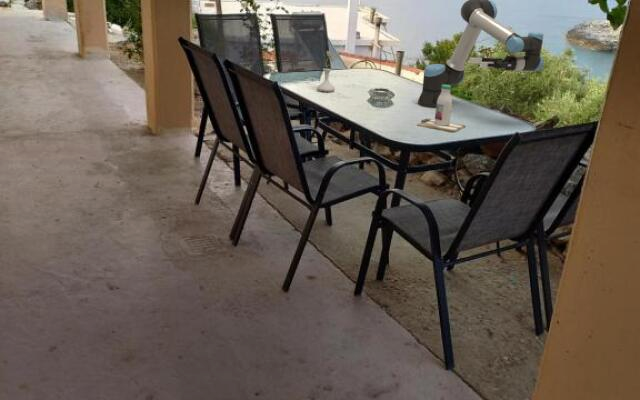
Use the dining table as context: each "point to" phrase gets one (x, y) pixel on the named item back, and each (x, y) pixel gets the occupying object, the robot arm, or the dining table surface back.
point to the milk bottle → (443, 107)
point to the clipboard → (449, 128)
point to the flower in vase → (326, 85)
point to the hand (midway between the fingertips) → (475, 62)
